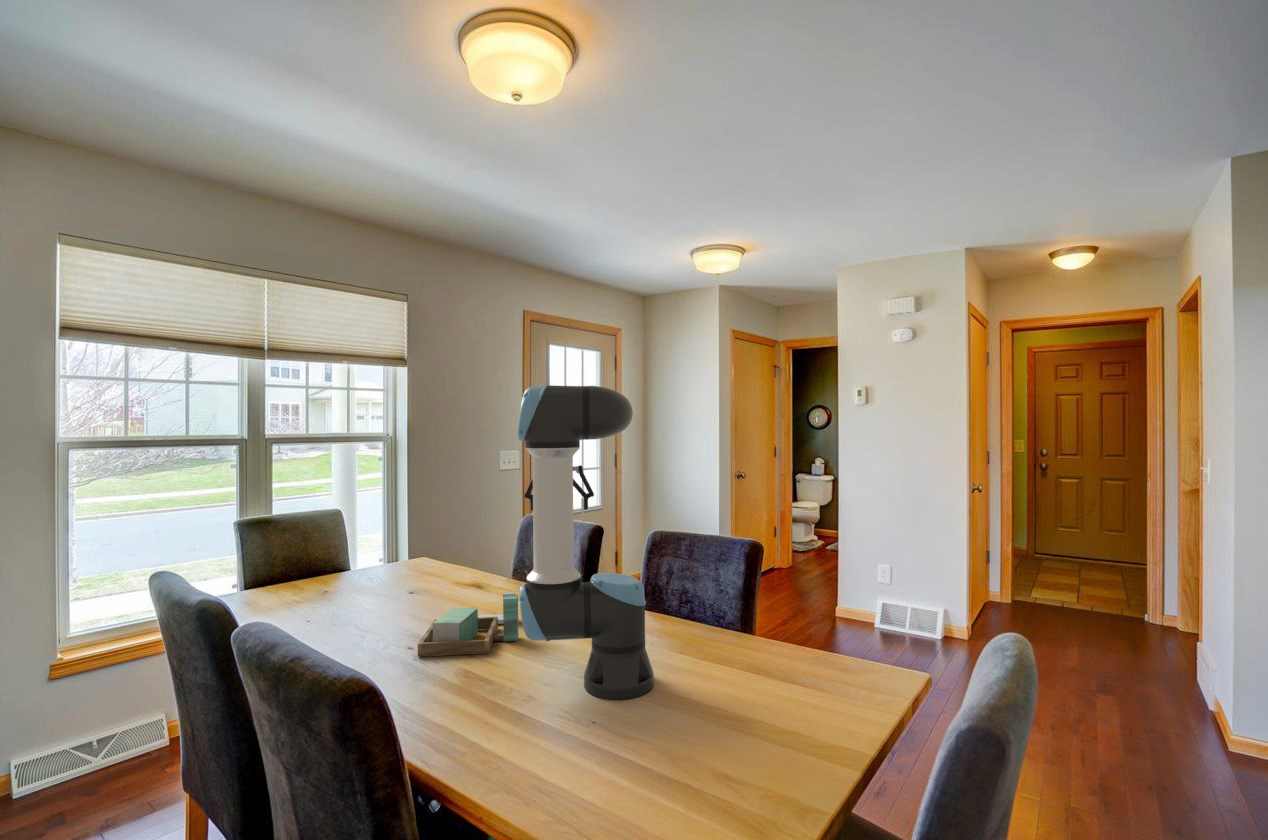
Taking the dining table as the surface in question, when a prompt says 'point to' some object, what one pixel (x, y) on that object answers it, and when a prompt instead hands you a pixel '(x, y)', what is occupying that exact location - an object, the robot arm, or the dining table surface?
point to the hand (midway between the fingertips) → (559, 521)
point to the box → (456, 625)
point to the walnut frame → (491, 623)
